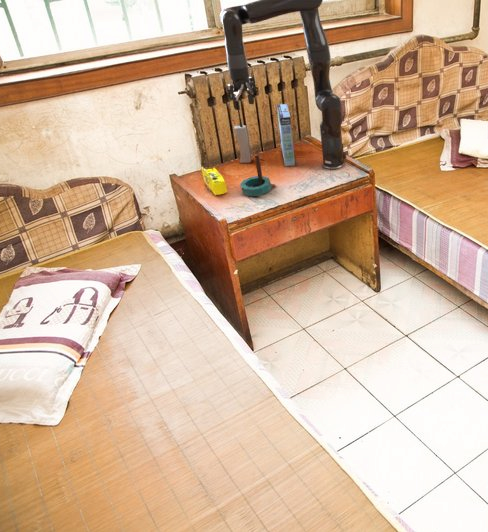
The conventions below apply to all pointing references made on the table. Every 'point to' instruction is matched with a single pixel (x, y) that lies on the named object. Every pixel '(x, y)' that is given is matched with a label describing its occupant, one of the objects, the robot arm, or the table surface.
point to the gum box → (286, 134)
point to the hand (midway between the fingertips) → (244, 106)
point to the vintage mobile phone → (243, 142)
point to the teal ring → (255, 190)
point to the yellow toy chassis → (214, 181)
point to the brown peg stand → (260, 172)
